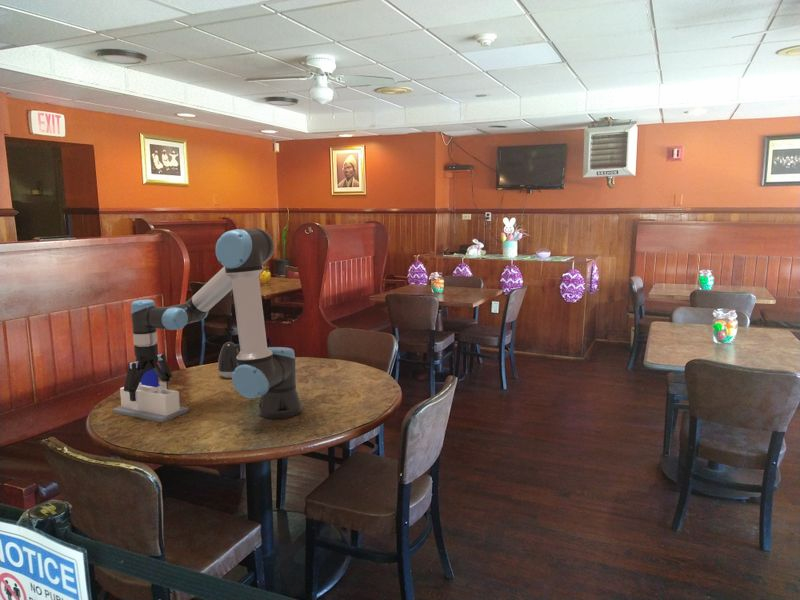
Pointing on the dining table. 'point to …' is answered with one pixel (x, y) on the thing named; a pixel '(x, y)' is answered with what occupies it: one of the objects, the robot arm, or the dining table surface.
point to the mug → (150, 378)
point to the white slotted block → (153, 400)
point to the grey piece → (147, 414)
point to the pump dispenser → (228, 359)
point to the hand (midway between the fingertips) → (150, 404)
